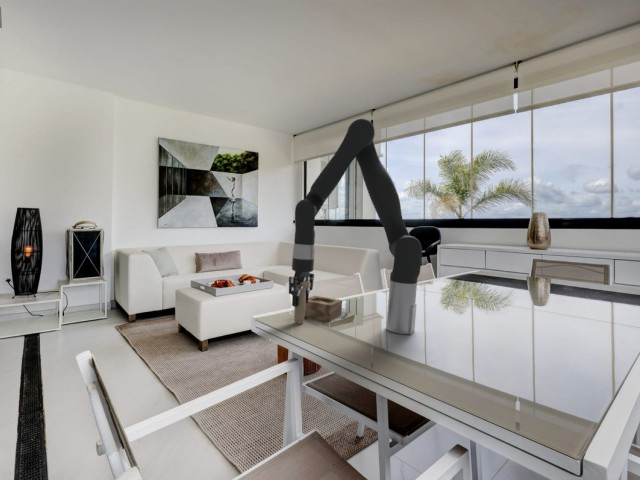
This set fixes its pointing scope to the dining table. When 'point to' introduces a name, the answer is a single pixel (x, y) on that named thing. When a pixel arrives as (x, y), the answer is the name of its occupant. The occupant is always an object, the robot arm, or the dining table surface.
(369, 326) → the dining table surface
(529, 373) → the dining table surface
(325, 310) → the brown wooden open box
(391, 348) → the dining table surface
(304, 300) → the handle
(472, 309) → the dining table surface
